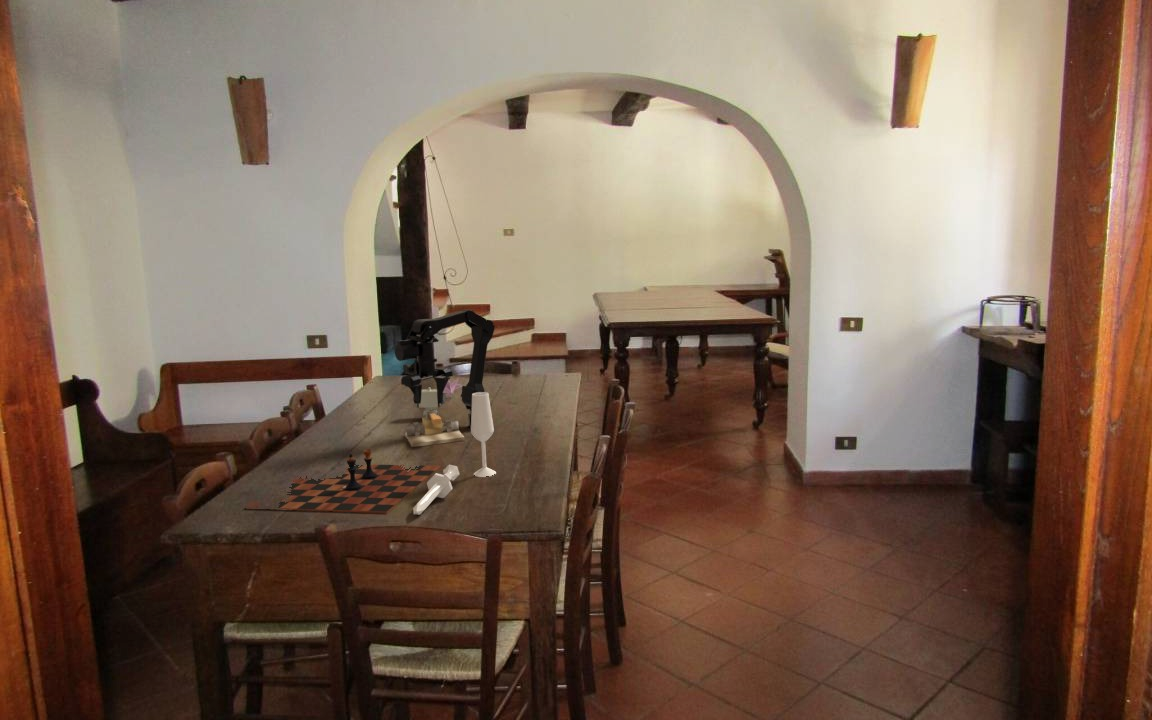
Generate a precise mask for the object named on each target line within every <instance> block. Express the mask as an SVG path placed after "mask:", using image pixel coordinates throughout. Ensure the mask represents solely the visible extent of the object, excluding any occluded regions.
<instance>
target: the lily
mask: <svg viewBox="0 0 1152 720" xmlns="http://www.w3.org/2000/svg"><path fill="white" fill-rule="evenodd" d="M459 380H460V379H459V378H456V379H455V380H453V381H451V379H449V380H448V382H447V384H446V386H445V389H444V391H443V393H445V394H446V396H448V397H450V398H453V400H454V401H456V399H455V396H454V392H455V391H456V390H457V389H460V388H462V386H463V384H460V383H458V382H459ZM452 396H453V397H452Z"/></svg>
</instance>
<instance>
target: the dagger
mask: <svg viewBox="0 0 1152 720" xmlns="http://www.w3.org/2000/svg"><path fill="white" fill-rule="evenodd" d="M442 472H443V474H441V473H437V472H435V474H434V475H432V477H430V479H429V480H428V481H427V482H426V485H427V489H428V491H427V492H426V493H425V494H424V495H423V496H422V498H421V499H419V501H418V502H417V503H416V504H415V505H414V507H412V510H413V512H412V513H413V515H419V516H420V515H421V514H422V513H423V512H424V511H425V510H426V509H427V508H428V507H429V506H430V504H431V503H432V502H433V501H434V500H435V499H436V498H441V499H444V498H446V497H447V495H448V494H449V493H450V492H452V490H453V486H452V483H451V481H455V479H457V478H458V477H459V476H460V470H459V468H458V466H457V465H454V464H453V465H452V464H451V463H450V464H448V465H446V467H444V469H443V471H442Z"/></svg>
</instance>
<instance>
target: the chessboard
mask: <svg viewBox="0 0 1152 720" xmlns="http://www.w3.org/2000/svg"><path fill="white" fill-rule="evenodd" d="M372 452H373V450H372V449H369V448H368V449H364V450H363V455H364V456H365V457H364V458H363V460H364V462H365V463H366V464H365V463H364V464H365V465H367V466H365V465H361V466H360V467H358V466H359V465H356V464H357V463H356V462H357V460H356V459H355V457H353V454H352V453H349V455H348V458H347V460H346V464H348V465H349V467H350V468H348V469H345V470H344V471H348V472H346V473H345V474H343V475H342V477H338V476H337V477H336V478H329V479H327V478H324V480H320V479H318V481H316V480H314V479H312V478H311V480H309V479H308V478H307V476H306V478H305V480H304V479H302V478H301V477H300V478H299V479H294V478H293V482H295V483H292V484H291V485H292V487H289V488H291V489H292V490H288V491H291V492H287V493H291V494H287V495H289V496H290V497H289V498H287V499H289V500H290V501H288V502H286V503H285V499H284V500H282V501H280V503H279V504H280V505H279V507H278V508H282V509H292V510H306V511H305V512H312V510H313V511H333V512H332V513H344V512H359V513H358V514H376V513H379V514H378V515H380V514H381V515H382V514H383V515H387V514H388V513H389V512H391V511H392V510H393V509H394V508H396V507H397V505H398V504H400V503H401V502H402V501H403V500H404V499H405V498H407V497H408V496H409V495H410V494H411V493H413V491H414V490H416V489H417V488H418V487H419V486H420V485H421V484H422V483H424V481H426V480H427V479H428V478H429V477H430V476H431V475H433V474H434V473H436V471H437V470H438V469H439V468H441V465H421V464H419V465H420V466H419V467H417V466H416V467H415V469H416V468H418V469H416V470H415V469H411V470H410V471H409V472H407V471H408V470H409V469H410V468H411V467H410V468H409V469H405V467H404V468H403V466H404V465H405V464H375V463H374V464H373V463H372V459H373V456H372V457H371V455H372ZM354 465H356V466H354ZM399 465H400V466H399ZM402 465H403V466H402ZM363 466H365V467H363ZM401 466H402V467H401ZM402 468H403V469H402ZM404 469H405V470H404ZM414 470H415V472H414ZM415 488H416V489H415ZM407 495H408V496H407ZM254 504H255V501H253V502H251V503H249V504H247V507H252V506H253V505H254ZM258 505H259V502H258V503H256V504H255V505H254V506H253V507H255V506H256V508H258ZM261 505H263V504H261ZM307 510H308V511H307ZM309 510H310V511H309Z"/></svg>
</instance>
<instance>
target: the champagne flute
mask: <svg viewBox="0 0 1152 720" xmlns="http://www.w3.org/2000/svg"><path fill="white" fill-rule="evenodd" d="M490 404H491V402H490V394H489V392H486V391H485V392H478V393H473V394H472V413H471V426H470V433H471V435H472V436H473V437H474V438H475V439H476V440H477V441H478V442H480V446H481V459H482V460H481V461H482V462H481V464H482V467H481V468H480V469H478V470H476V471H475V472H473V476H474V475H475V476H474V477H478V478H487V477H486V476H489V477H493V476H495V475H496V474H497V472H496V471H495V470H494V469H491V468H489V467H487V452H486V451H487V450H486V449H487V448H486V442H487V441H488V440H489V439H490V437H492V435H493V434H494V431H495V428H494V421H493V415H492V406H491V407H490ZM494 474H495V475H494ZM492 475H493V476H492Z"/></svg>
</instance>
